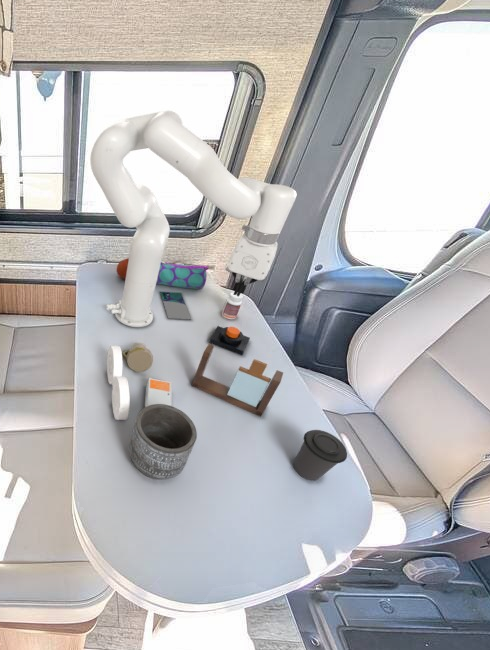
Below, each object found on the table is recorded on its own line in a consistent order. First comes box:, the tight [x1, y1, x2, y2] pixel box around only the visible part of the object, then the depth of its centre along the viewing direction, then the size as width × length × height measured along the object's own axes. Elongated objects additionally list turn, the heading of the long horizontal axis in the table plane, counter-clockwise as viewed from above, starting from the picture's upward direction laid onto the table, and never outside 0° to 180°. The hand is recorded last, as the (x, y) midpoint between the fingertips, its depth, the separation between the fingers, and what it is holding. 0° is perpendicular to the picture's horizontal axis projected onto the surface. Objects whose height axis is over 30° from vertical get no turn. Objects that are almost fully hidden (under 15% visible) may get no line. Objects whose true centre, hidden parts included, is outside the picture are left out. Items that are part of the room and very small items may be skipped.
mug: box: [122, 342, 154, 373], centre depth 111 cm, size 8×10×10 cm
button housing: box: [208, 325, 251, 356], centre depth 121 cm, size 10×8×4 cm
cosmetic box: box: [144, 377, 173, 408], centre depth 99 cm, size 6×4×12 cm
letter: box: [106, 345, 131, 421], centre depth 100 cm, size 22×2×10 cm, turn 0°
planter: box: [128, 404, 198, 481], centre depth 83 cm, size 12×12×13 cm
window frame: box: [191, 343, 284, 417], centre depth 100 cm, size 18×4×12 cm, turn 55°
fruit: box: [116, 257, 129, 280], centre depth 148 cm, size 9×9×8 cm
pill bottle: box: [221, 291, 244, 320], centre depth 131 cm, size 5×5×8 cm
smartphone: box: [160, 291, 192, 321], centre depth 137 cm, size 8×1×16 cm
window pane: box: [227, 358, 272, 407], centre depth 97 cm, size 7×1×13 cm, turn 55°
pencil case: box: [156, 260, 210, 290], centre depth 145 cm, size 21×9×10 cm, turn 76°
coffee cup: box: [292, 429, 348, 482], centre depth 84 cm, size 8×8×10 cm
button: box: [226, 326, 241, 338], centre depth 119 cm, size 4×4×2 cm
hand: (237, 293), depth 113 cm, fingers closed
